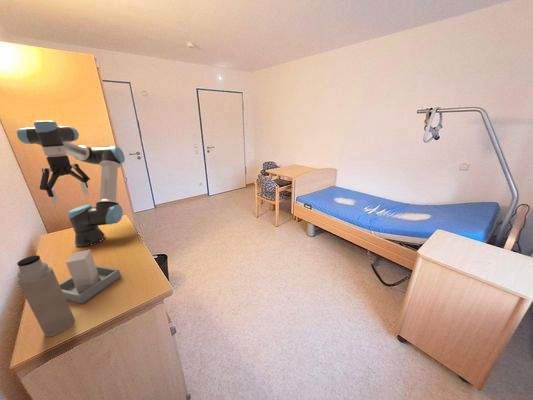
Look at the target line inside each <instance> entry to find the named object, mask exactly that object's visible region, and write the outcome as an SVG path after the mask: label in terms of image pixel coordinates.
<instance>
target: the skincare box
mask: <svg viewBox="0 0 533 400" xmlns="http://www.w3.org/2000/svg"><path fill="white" fill-rule="evenodd" d="M65 264H66V266H67V269H68V271H69V274H70V278H71V277H72V279H73V282H74V284H75V287H76V289H77V292H78V293H80V292H84V291H86V290H87V289H89V288H90V287H92V286H93V285H95V284H96V283H98V281H99V279H100V277H99V274H98V271H97V268H96V263H95V260H94V257H93V253H92V252H91V248H90V249H84V250H81V251H75V252H72V254H71V255H70V257H69V258H68V259H67V260H66V263H65Z"/></svg>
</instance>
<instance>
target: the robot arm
mask: <svg viewBox="0 0 533 400" xmlns="http://www.w3.org/2000/svg"><path fill="white" fill-rule="evenodd" d="M16 136H17V139H18V140H19V141H20V142H22V143H24V144H26V145H28V144H29V145H34V144H36V145H39V146H41V147H42V150H43V153H44V156H45V157H46V161H47V164H48V165H49V168H46V167H44V168H41V172H42V175H41V181H40V185H39V190H40V191H46V194H47V196H48V197H49V198H51V200H52V203H53V204H60V201H59V199H58V198H59V197H58V195H57V193H56V191H55V189H53V188H54V186H55V184H56V182H57V180H58V178H59V177H62V176H67V175H70V176H71V177H73V178H75V179H77V180H78V181H80V183H79V185H80V186H81V187H80V188H81V190H82V193H83V195H84V196H85V195H87V196H88V195H90V193H89V185H88V182H89V181H90V180H91V178H90V177H89V175H87V174H86V173H85V172H84V171H83V170H82V169H81V167H80V166H79V163H72V164H71V160H70V159H69V156H71V157H73V158H74V159H75V160H78V161H81V162H83V163H87V164H91V165H99V166H100V167H101V171H100V172H101V173H100V174H101V176H100V188H99V200H98V201H97V202H96V204H95V206H94V207H93V206H92V205H91V204H86V205H85V204H84V205H81V206H77V207H75V208H73V209H71V210H69V211H68V214H67V215H68V219H69V221H70V224H71V226H72V229H73V231H74V234H75V235H74V244H75V247H77V246H79V247H78V248H83V247H82V246H86V247H89V246H88V245H91V244H94V243H96V244H98V243H97V242H99V241H100V240H102V239H103V238H104V237H105V238H106V236H105V233H104V232H103V231H102V229H100V227H99V226H104V225H115V224H118V223H119V222H120V221H122V218H123V215H124V213H123V207H122V206H121V205H120V203H119V202H118V201H117V192H118V191H117V190H118V189H117V188H118V171H119V169H120V168H121V165H122V164H123V163H125V160H126V157H125V154H124V152H123V150H122V149H121V147H119V146H118V145H107V146H85V145H80V144H79V145H78V144H76V143H73V142H75V141H77V140H78V139H79V136H80V134H79V132H78V130H77V129H76V128H75V127H73V126H69V125H59V124H57V122H56V121H54V120H36V121H34V123H33V126H32V127H31V126H30V127H29V126H27V127H21V128H18V129H17V131H16ZM72 169H73V170H72ZM74 170H75V171H74ZM76 172H77V173H76ZM50 173H51V175H50ZM49 178H50V179H49ZM102 241H103V240H102ZM99 243H100V242H99ZM94 245H95V244H94ZM91 246H92V245H91Z"/></svg>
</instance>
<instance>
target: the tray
mask: <svg viewBox="0 0 533 400" xmlns="http://www.w3.org/2000/svg"><path fill="white" fill-rule="evenodd" d="M95 265H96V264H95ZM96 268H97V271H98V274H99V277H100V279H99V281H98V283H96V284H95V285H93V286H92V287H90V288H89V289H87V290H86V291H84V292H80V293H78V292H77V289H76V287H75V284H74V282H73V279H72V277H71V276H70V277H68V279H66V280H64V281H62V282H61V283H59V285H60V287H61V290H62V292H63V294H64V296H65V299H66V301H67V302H68V301H69V302H72V303H75V304H79V305H82V306H83V305H86V303H88V302H90V301H91V300H92V299H94V298H95V297H96V296H98V295H99V294H100V293H102V292H103V291H104V290H106V289H107V288H109V287H110V286H111V285H113V284H114V283H116V282H117V281H118V280H120V279H121V278H122V274H121V271H120V269H117V268H112V267H108V266H107V267H106V266H101V265H96Z"/></svg>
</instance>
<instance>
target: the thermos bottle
mask: <svg viewBox="0 0 533 400" xmlns="http://www.w3.org/2000/svg"><path fill="white" fill-rule="evenodd" d="M42 261H43V260H41V257H40V255H32V256H31V255H30V256H27V257H25V258H23V259H20V260H18V262H17V263H16V264H17V266H18V269H19V271H18V272H17V280H16V282H17V284H18V286H19V288H20V290H21V292H22V294H23V296H24V297H25V299H26V301H27V304H28V305H29V307H30V309H31V311H32V312H33V315H34V317H35V319H36V320H37V323H38V325H39V326H40V328H41V331H42V332H43V335H44V336H45V337H54V336H57V335H60V334H62V333H64V332H65V331H66V330H68V329H69V328H70V327H71V326H72V325H73V324H74V322H75V317H74V314H73V312H72V311H71V308H70V306H69V303H68V300H66V299H65V296H64V294H63V292H62V290H61V287H60V285H59V284H60V283H59V281H58V278H57V276H56V274H55V272H54V269H53V267H51V266H49V265H48V263H47V262H44V261H43V262H42Z"/></svg>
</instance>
